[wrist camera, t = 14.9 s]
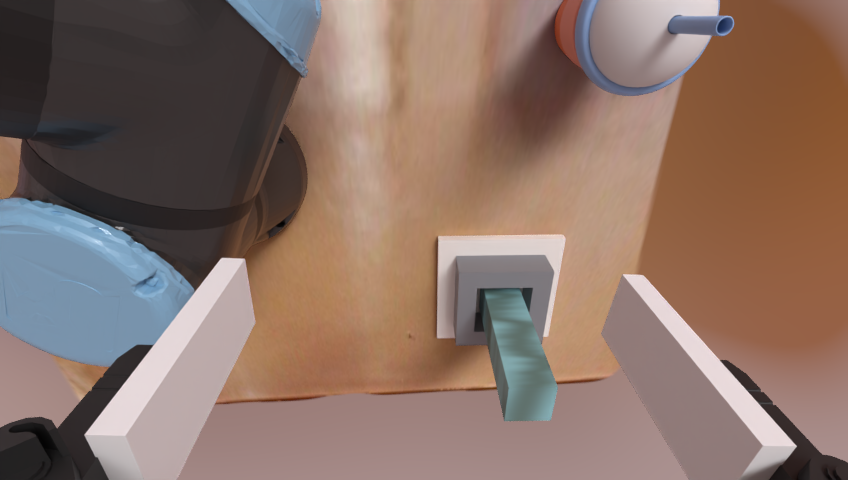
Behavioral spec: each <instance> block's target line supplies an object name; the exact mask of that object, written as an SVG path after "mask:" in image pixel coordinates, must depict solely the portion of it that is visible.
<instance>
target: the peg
mask: <svg viewBox="0 0 848 480" xmlns="http://www.w3.org/2000/svg"><path fill="white" fill-rule="evenodd" d="M479 309H480V313H481V318H482V322H483V327H484V331H485V336H486V340H487V345H488V349H489V354H490V358H491V363H492V367H493V372H494V376H495V381H496V385H497V390H498V395H499V399H500V404H501V408H502V413H503V417H504V421H537V420H538V421H540V420H551V417H552V412H553V407H554V403H555V398H556V393H557V389H558V387H557V384H556V381H555V379H554V376H553V374H552V371H551V368H550V366H549V363H548V361H547V358H546V356H545V353H544V350H543V348H542V345H541V343H540V340H539V337H538V335H537V332H536V330H535V327H534V324H533V322H532V319H531V317H530V314H529V312H528V309H527V306H526V304H525V301H524V299H523V296H522V293H521V291H520V288H480V299H479Z"/></svg>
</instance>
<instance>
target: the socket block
mask: <svg viewBox="0 0 848 480" xmlns="http://www.w3.org/2000/svg"><path fill="white" fill-rule="evenodd" d="M565 240H566V238H565V237H564V236H563V235H487V236H438V276H437V338H455V342H456V346H458V345H487V340H486V336H485V331H484V327H483V322H482V318H481V313H480V309H479V299H480V288H520V291H521V293H522V296H523V299H524V301H525V304H526V306H527V309H528V312H529V314H530V317H531V319H532V322H533V324H534V327H535V330H536V332H537V335H538V337H539V340H540V343H541V344H542V340H543V337H548V333H549V328H550V322H551V317H552V311H553V306H554V300H555V295H556V289H557V284H558V278H559V273H560V267H561V262H562V256H563V251H564V245H565Z"/></svg>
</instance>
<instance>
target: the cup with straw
mask: <svg viewBox="0 0 848 480" xmlns="http://www.w3.org/2000/svg"><path fill="white" fill-rule="evenodd" d="M719 6H720V0H564V1H563V2H562V4H561V6H560V8H559V10H558V13H557V16H556V20H555V37H556V41H557V44H558V46H559V48H560V49H561V50H562V52H563V53H564V54H565V55H567V56H568V58H569V59H570V60H571V61H572V62H573V63H575V64H576V65H577V66H579V67H580V68H582V69H583V71H584V72H585V74H586V75H587V77H588V78H589V79H590V80H591V81H592V82H593V83H594V84H596V85H597V86H598V87H600V88H601V89H603V90H605V91H607V92H610V93H613V94H617V95H623V96H637V95H643V94H648V93H651V92H654V91H657V90H659V89H661V88H664V87H666V86H667V85H669V84H671V83H672V82H674V81H675V80H677V79H678V78H679V77H681V76H682V75H683V74H684V73H685V72H686V71H687V70H689V69H690V67H691V66H692V65H693V64H694V63H695V62H696V60H697V59H698V58H699V57H700V55H701V54H702V53H703V51H704V49H705V48H706V46H707V44H708V42H709V40H710V38H711V36H712V35H713V36H724V35H726V34H728V33H729V32H730V31H731V30H732V28H733V26H734V20H733V18H732V17H730V16H718V13H719Z"/></svg>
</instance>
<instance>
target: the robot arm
mask: <svg viewBox="0 0 848 480" xmlns="http://www.w3.org/2000/svg"><path fill="white" fill-rule="evenodd" d="M320 20H321V2H320V0H0V136H3V137H11V138H19V139H22V145H21V155H20V166H19V177H18V184H17V187H16V189H15V191H14V192H13V194H12V195H11V196H10V197H9V198H6V199H0V326H1V327H2V328H3V329H4V330H6V331H7V332H9V333H10V334H12V335H13V336H15V337H17V338H19V339H20V340H22V341H24V342H26V343H28V344H30V345H32V346H34V347H36V348H38V349H40V350H42V351H45V352H47V353H50V354H52V355H55V356H58V357H61V358H64V359H67V360H71V361H75V362H79V363H83V364H89V365H96V366H104V367H109V369H108V370H107V371H106V372H105V373H104V376H103V378H100V379H99V380H98V381H97V383H96V384H95V385H94V386H93V387H92V391H89V392H88V393H87V394H86V396H85V397H84V398H83V399H82V400H81V401H80V403H79V404H78V405H77V406H76V407H75V408H74V410H73V411H72V412H71V413H70V414H69V416H68V417H67V418H66V419H65V420H64V421H63V422H62V424H61V425H60V426H59V427H58V428H56V427H55V425H54V423H53V422H52V420H49V419H45V418H43V417H35V418H25V419H22V420H18V421H15V422H12V423H9V424H7V425H5V426H3V427H1V428H0V480H177V478H178V476H179V474H180V472H181V470H182V468H183V466H184V464H185V462H186V460H187V458H188V456H189V454H190V452H191V450H192V448H193V446H194V444H195V442H196V440H197V438H198V436H199V434H200V432H201V430H202V428H203V426H204V424H205V422H206V420H207V418H208V416H209V414H210V412H211V410H212V408H213V406H214V404H215V402H216V400H217V398H218V396H219V394H220V392H221V390H222V388H223V386H224V384H225V382H226V380H227V378H228V376H229V374H230V372H231V370H232V368H233V366H234V364H235V362H236V360H237V358H238V356H239V354H240V352H241V350H242V348H243V346H244V344H245V342H246V340H247V338H248V336H249V334H250V332H251V330H252V328H253V326H254V324H255V317H254V311H253V305H252V299H251V292H250V286H249V280H248V274H247V268H246V262H245V259H242V258H243V257H244V255H245V254H246V252H247V251H248V249H249V248H250V247H251V246H253V245H255V244H257V243H260V242H262V241H264V240H267V239H269V238H271V237H273V236H274V235H276V234H277V233H279V232H280V231H282V230H283V229H284V228H285V227H286V226H287V225H288V224H289V223H290V222H291V220H292V219H293V218H294V216H295V215H296V213H297V211H298V210H299V208H300V206H301V204H302V202H303V200H304V197H305V194H306V189H307V168H306V163H305V159H304V156H303V153H302V151H301V148H300V146H299V144H298V142H297V140H296V139H295V137H294V136H293V134H292V133H291V131H290V130H289V129H288V127H287V126H286V125H285V124H284V123H285V120H286V117H287V115H288V112H289V109H290V107H291V104H292V101H293V99H294V96H295V93H296V91H297V88H298V85H299V83H300V80H301V77H303V78H306V76H307V73H308V68H307V66H306V64H307V61H308V58H309V55H310V52H311V49H312V46H313V43H314V39H315V36H316V33H317V30H318V27H319V24H320ZM601 334H602V336H603V338H604V339H605V341H606V343H607V344H608V346H609V348H610V349H611V351H612V353H613V354H614V356H615V358H616V359H617V361H618V363H619V364H620V366H621V368H622V369H623V371H624V373H625V374H626V376H627V378H628V379H629V381H630V383H631V384H632V386H633V388H634V389H635V391H636V393H637V394H638V396H639V398H640V399H641V401H642V403H643V404H644V406H645V407H646V409H647V411H648V413H649V414H650V416H651V417H652V419H653V421H654V423H655V424H656V426H657V427H658V429H659V431H660V432H661V434H662V436H663V437H664V439H665V441H666V442H667V444H668V446H669V447H670V449H671V451H672V452H673V454H674V456H675V457H676V459H677V461H678V462H679V464H680V466H681V467H682V469H683V471H684V472H685V474H686V476H687V477H688V479H689V480H848V463H847V462H845V461H843V460H840V459H838V458H835V457H832V456H828V455H822V454H821V453H820V452H819V451H818V450H817V449H816V448H815V447H814V446H813V444H812V443H811V442H810V441H809V440H808V439H807V438H806V437H805V436H804V435H803V434H802V433H801V432H800V431H799V430H798V429H797V428H796V427H795V425H794V424H793V423H792V422H791V421H790V420H789V419H788V418H787V417H786V416H785V415H784V414H783V413H782V412H781V410H780V409H779V408H778V407H777V406H776V405H773V402H772V401H771V400H770V399H769V398H768V396H767V395H766V394H765V393H764V392H761V389H760V388H759V387H758V386H757V385H756V384H755V383H754V382H753V381H752V380H751V378H750V377H749V376H748V375H747V374H746V373H744V372H743V371H741V370H740V369H739V368H737V367H736V366H734V365H733V364H732V363H730V362H729V361H727V360H719V359H718V358H717V357H716V356H715V355H714V354H713V352H712V351H711V350H710V349H709V348H708V347H707V346H706V345H705V344H704V342H703V341H702V340H701V339H700V338H699V337H698V336H697V335H696V333H695V332H694V331H693V330H692V329H691V328H690V327H689V326H688V325H687V324H686V322H685V321H684V320H683V319H682V318H681V317H680V316H679V315H678V313H677V312H676V311H675V310H674V309H673V308H672V307H671V306H670V305H669V303H668V302H667V301H666V300H665V299H664V298H663V297H662V296H661V294H660V293H659V292H658V291H657V290H656V289H655V288H654V287H653V286H652V284H651V283H650V282H649V281H648V280H647V279H646V278H645V277H644V276H643V275H627V274H622V277H621V280H620V282H619V285H618V288H617V291H616V294H615V296H614V299H613V302H612V305H611V308H610V310H609V313H608V316H607V319H606V322H605V324H604V327H603V330H602V333H601Z"/></svg>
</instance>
